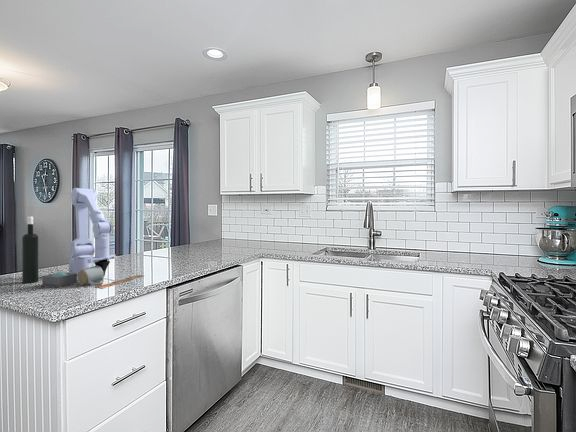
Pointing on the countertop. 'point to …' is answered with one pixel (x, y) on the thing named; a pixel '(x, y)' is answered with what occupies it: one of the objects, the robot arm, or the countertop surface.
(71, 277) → the dome housing
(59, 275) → the dome
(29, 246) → the wine bottle
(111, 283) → the tile track
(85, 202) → the robot arm
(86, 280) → the ceramic mug
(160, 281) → the countertop surface
